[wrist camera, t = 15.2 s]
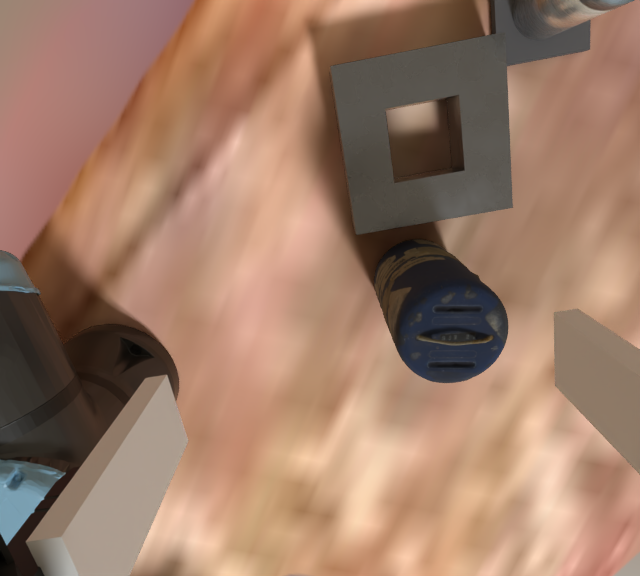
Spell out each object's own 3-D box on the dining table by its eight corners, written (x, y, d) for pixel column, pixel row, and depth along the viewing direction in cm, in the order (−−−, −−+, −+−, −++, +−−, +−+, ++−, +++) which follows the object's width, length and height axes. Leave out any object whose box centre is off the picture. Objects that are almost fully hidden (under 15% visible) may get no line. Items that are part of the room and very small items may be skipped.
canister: (386, 226, 51) (420, 271, 34) (465, 247, 51) (538, 301, 34) (362, 303, 54) (382, 381, 36) (437, 322, 54) (491, 406, 37)
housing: (353, 226, 51) (356, 234, 46) (329, 73, 46) (330, 66, 41) (496, 201, 50) (512, 207, 45) (487, 42, 45) (505, 31, 40)
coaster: (493, 68, 45) (497, 67, 45) (488, -35, 43) (492, -39, 42) (584, 51, 45) (589, 49, 44) (585, -54, 42) (591, -59, 41)
